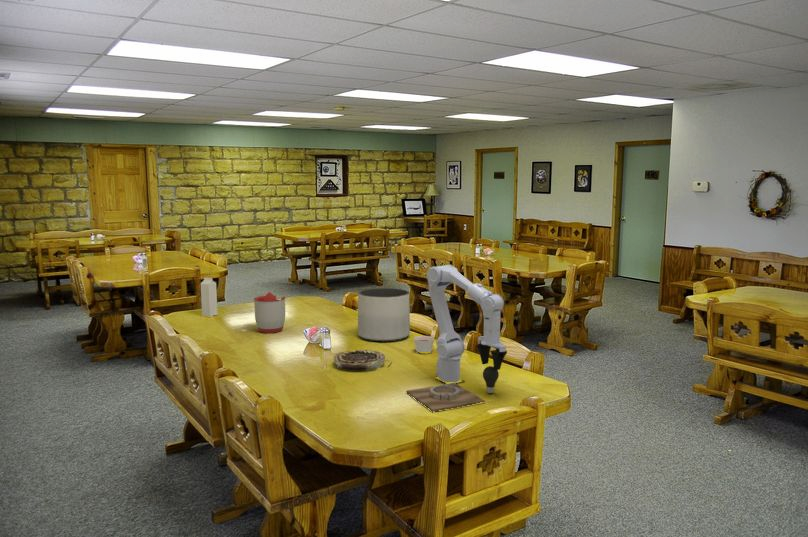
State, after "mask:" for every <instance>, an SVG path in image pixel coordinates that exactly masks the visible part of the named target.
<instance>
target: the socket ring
mask: <svg viewBox="0 0 808 537" xmlns="http://www.w3.org/2000/svg"><path fill="white" fill-rule="evenodd" d="M433 386H434V387H432V386H431V387H432V388H430V397H432V398H433V399H437V400H442V401H449V400H455V399H457V398H458V397H459V389H458V388H456V387H454V386H450V385H444V384H438V385H433ZM441 391H446V392H452V393H450V394H440V393H436V392H441Z"/></svg>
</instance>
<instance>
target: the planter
mask: <svg viewBox="0 0 808 537" xmlns="http://www.w3.org/2000/svg"><path fill="white" fill-rule="evenodd" d="M357 293H358V294H357V296H358V297H357V299H358V301H357V307H358V308H357V317H358V318H357V334H358V336H359V337H360V338H361V339H363V340H365V341H368V340H369V341H370V342H374V341H393V342H395V341H394V340H399V341H401V340H400V339H402V340H404V339H403V338H405V339H406V338H408V337H409V336H410V334H411V324H410V323H411V321H410V320H411V316H410V315H411V314H410V312H411V311H410V309H411V308H410V307H411V306H410V291H409V290H406V289H401V288H394V287H393V288H392V287H375V288H374V287H373V288H365V289H362V290H360V291H358V292H357ZM407 336H408V337H407ZM369 341H368V342H369Z"/></svg>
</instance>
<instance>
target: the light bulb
mask: <svg viewBox="0 0 808 537" xmlns="http://www.w3.org/2000/svg"><path fill="white" fill-rule="evenodd" d="M499 376H500V374H499V370H494V366H492V365H491V366H486V367H485V368H484V369H483V371H482V377H483V380H484V382H485V385H486V392H487V393H488V394H489V393H492V394H493V393H494V392H495V387H496V386H495V385H496V382H498V379H499Z"/></svg>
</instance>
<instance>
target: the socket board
mask: <svg viewBox="0 0 808 537" xmlns="http://www.w3.org/2000/svg"><path fill="white" fill-rule="evenodd" d="M443 385H450V386H454V387H456V388H458V389H459V397H458V398H457V399H455V400H449V401H442V400H437V399H433V398H432V397H430V388H432V387H434V386H435V385H433V386H428V387H421V388H414V389H408V390H406V391H405V393H406V392H407V393H408V394H410V395H411V396H412V397H414V398H415V399H416V400H417V401H419V402H420V403H422V404H423V405H425V406H426V407H427V408H429V409H430V410H431V411H439V410H445V409H450V410H452V409H451V408H456V409H458V408H457V407H461V408H463V407H462V406H466V407H468V406H467V405H472V404H476V403H480V402H486V401H485V399H483V398H481V397H480V396H478V395H476V394H475V393H473V392H471V391H470V390H468V389H466V388H464V387H463V386H461V385H459V383H457V384H456V383H450V384H444V383H443ZM436 393H440V394H450V393H452V392H446V391H441V392H436ZM408 394H407V395H408ZM411 396H410V397H411ZM412 397H411V398H412ZM415 399H414V400H415ZM416 400H415V401H416ZM417 401H416V402H417ZM419 402H418V403H419ZM420 403H419V404H420ZM422 404H421V405H422ZM423 405H422V406H423ZM472 406H473V405H472ZM426 407H425V408H426ZM427 408H426V409H427ZM430 410H429V411H430ZM431 411H430V412H431ZM445 411H446V410H445ZM439 412H440V411H439Z"/></svg>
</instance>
